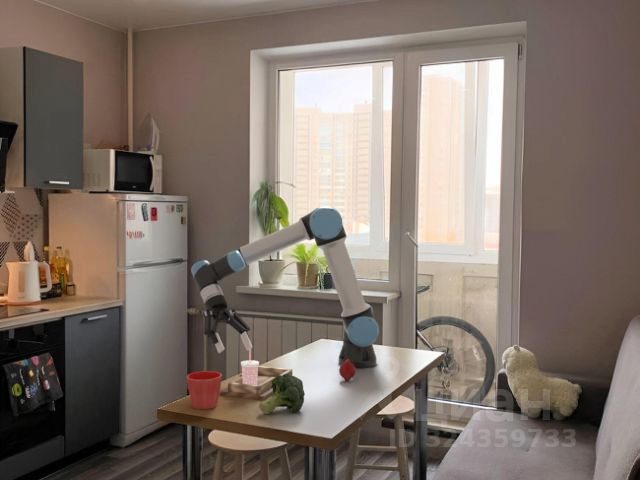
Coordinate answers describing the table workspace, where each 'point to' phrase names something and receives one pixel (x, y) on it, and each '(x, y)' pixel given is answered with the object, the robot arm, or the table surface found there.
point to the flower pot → (204, 389)
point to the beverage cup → (250, 370)
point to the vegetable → (284, 394)
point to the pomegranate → (347, 370)
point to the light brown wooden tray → (255, 391)
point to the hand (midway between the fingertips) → (236, 350)
